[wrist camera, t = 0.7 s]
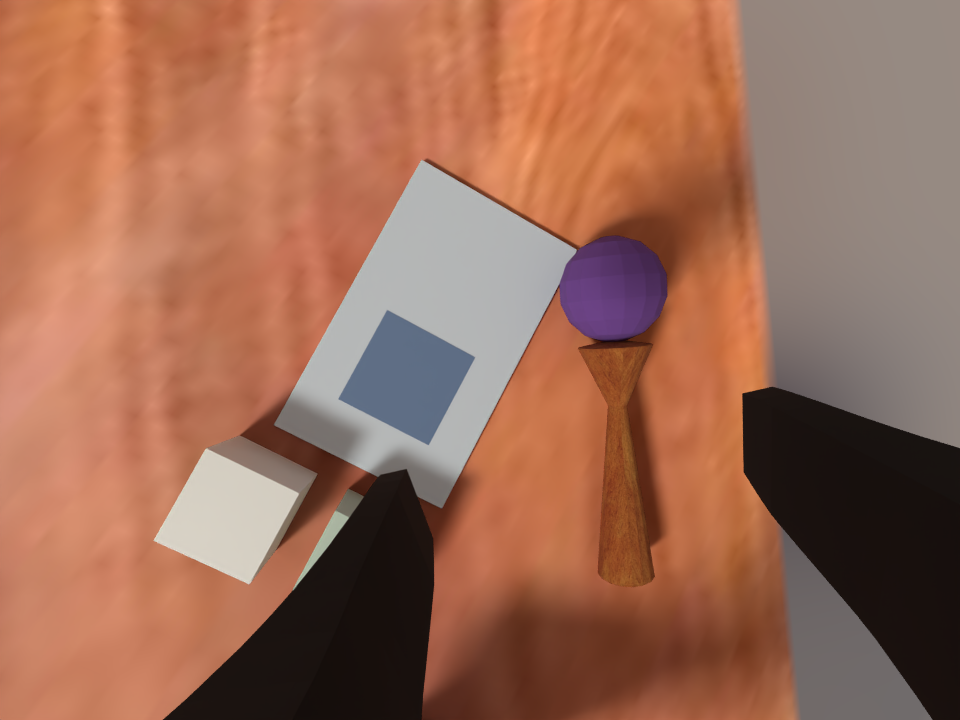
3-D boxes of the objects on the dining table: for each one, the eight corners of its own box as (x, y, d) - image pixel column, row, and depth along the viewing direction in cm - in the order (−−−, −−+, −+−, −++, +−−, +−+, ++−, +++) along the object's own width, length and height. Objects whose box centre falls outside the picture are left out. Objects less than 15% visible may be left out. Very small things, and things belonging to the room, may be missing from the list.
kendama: (583, 602, 26) (563, 232, 25) (569, 550, 32) (552, 249, 31) (695, 598, 26) (681, 222, 24) (659, 546, 32) (646, 242, 30)
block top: (276, 549, 28) (249, 584, 24) (196, 512, 28) (153, 540, 23) (318, 473, 28) (299, 493, 24) (240, 434, 28) (206, 448, 23)
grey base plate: (441, 506, 29) (441, 508, 29) (275, 424, 28) (273, 425, 28) (575, 251, 30) (577, 249, 30) (421, 162, 29) (421, 159, 29)
